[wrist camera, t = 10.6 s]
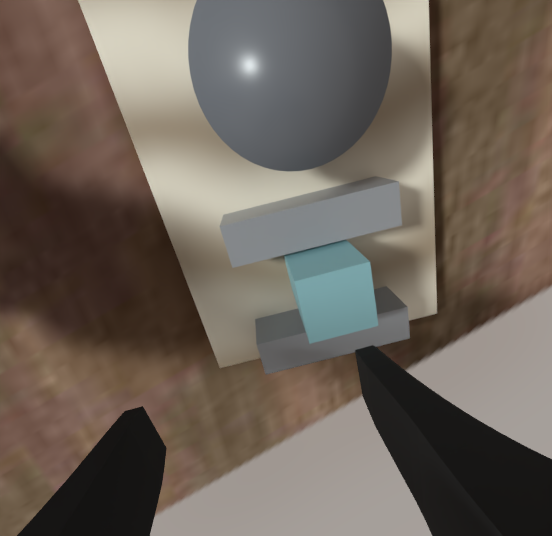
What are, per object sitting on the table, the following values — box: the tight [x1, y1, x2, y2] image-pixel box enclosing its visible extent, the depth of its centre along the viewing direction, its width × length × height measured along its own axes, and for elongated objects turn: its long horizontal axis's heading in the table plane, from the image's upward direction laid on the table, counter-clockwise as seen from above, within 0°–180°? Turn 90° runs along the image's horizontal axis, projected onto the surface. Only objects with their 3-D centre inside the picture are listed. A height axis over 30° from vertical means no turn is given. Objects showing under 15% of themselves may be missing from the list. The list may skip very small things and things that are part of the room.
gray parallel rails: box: [220, 176, 410, 374], centre depth 16 cm, size 8×8×2 cm
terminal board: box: [78, 0, 437, 368], centre depth 15 cm, size 26×14×2 cm, turn 13°
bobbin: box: [188, 0, 392, 172], centre depth 11 cm, size 6×6×4 cm
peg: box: [284, 240, 378, 344], centre depth 14 cm, size 3×3×5 cm
